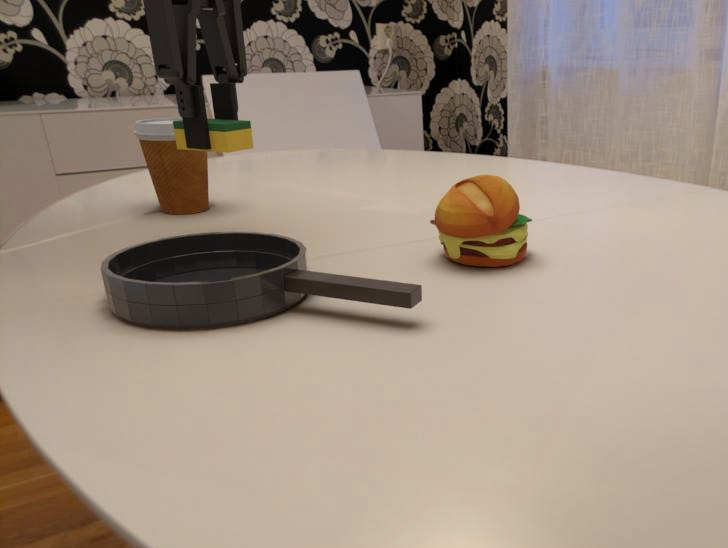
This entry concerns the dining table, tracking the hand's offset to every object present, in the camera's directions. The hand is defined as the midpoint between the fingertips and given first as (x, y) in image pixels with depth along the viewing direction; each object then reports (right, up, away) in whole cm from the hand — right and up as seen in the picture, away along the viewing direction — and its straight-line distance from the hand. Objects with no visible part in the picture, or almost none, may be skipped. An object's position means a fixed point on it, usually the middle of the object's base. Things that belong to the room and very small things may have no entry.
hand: (214, 145), depth 77 cm
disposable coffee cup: (-12, -3, +19) cm, 23 cm away
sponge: (0, 0, 0) cm, 0 cm away
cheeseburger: (+31, -14, -2) cm, 34 cm away
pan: (+6, -19, -15) cm, 24 cm away
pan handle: (+20, -19, -20) cm, 34 cm away
